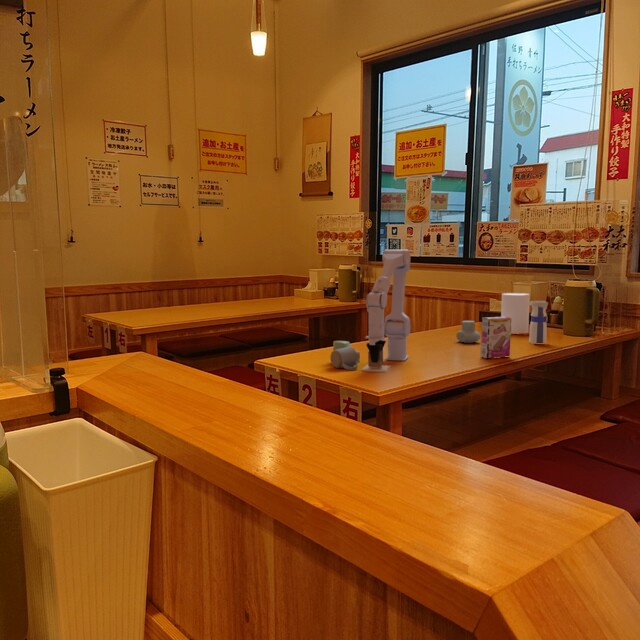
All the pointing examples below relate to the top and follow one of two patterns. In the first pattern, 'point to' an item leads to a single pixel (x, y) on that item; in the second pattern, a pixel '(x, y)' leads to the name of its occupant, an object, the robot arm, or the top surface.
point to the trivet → (376, 368)
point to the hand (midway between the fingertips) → (376, 361)
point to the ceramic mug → (344, 358)
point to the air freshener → (468, 332)
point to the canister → (516, 311)
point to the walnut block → (380, 360)
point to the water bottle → (538, 322)
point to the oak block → (358, 356)
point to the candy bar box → (495, 337)
